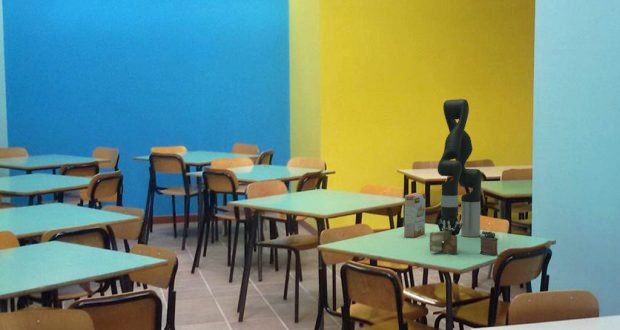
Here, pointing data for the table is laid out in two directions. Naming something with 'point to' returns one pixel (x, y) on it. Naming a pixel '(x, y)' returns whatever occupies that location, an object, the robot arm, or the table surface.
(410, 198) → the cracker box
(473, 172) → the robot arm
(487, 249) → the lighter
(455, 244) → the notched brown block
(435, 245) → the beech plate
